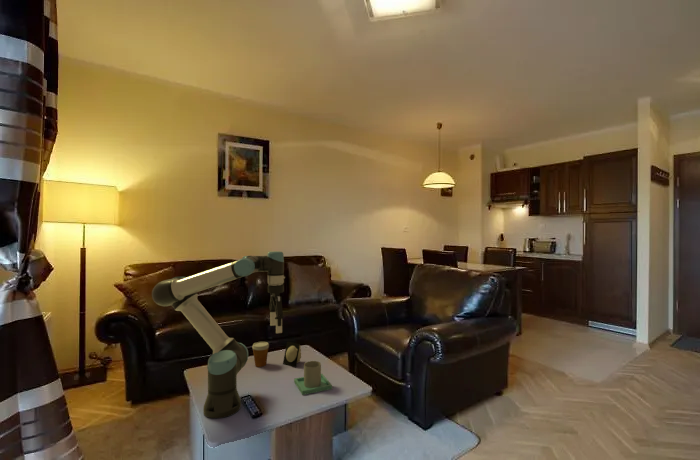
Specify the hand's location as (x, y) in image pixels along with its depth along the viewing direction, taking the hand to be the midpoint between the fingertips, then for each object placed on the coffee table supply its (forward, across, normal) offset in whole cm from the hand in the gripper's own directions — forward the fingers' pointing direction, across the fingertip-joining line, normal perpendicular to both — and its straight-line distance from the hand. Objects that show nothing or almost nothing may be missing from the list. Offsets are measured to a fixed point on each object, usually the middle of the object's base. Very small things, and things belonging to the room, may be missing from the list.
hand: (275, 329), depth 159 cm
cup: (+30, +2, -18) cm, 35 cm away
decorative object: (+31, +33, -17) cm, 48 cm away
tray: (+31, +2, -18) cm, 36 cm away
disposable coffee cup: (+31, +39, +1) cm, 50 cm away
